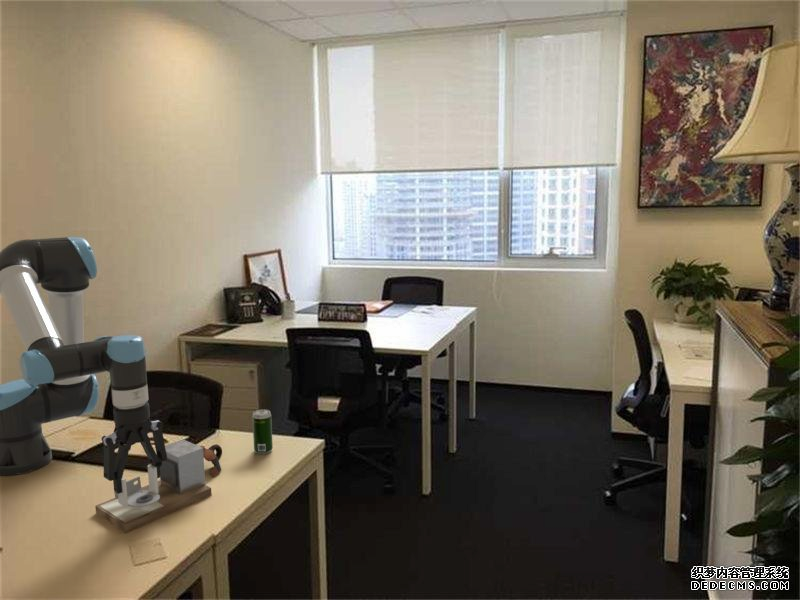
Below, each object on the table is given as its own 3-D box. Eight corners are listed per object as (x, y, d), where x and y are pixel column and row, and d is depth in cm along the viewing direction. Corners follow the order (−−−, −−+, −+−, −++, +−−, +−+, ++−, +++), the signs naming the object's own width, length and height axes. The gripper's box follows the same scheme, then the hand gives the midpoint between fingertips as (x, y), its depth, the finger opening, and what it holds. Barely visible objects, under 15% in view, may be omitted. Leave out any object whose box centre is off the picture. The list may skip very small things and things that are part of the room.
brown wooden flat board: (96, 513, 148) (95, 505, 147) (180, 479, 165) (179, 471, 165) (125, 533, 139) (125, 524, 139) (211, 495, 157) (211, 487, 156)
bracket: (140, 512, 138) (139, 498, 138) (114, 500, 144) (113, 486, 143) (166, 500, 144) (165, 486, 143) (140, 489, 149) (139, 476, 149)
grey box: (158, 485, 157) (155, 448, 156) (185, 474, 163) (182, 439, 162) (178, 496, 152) (175, 458, 150) (205, 484, 158) (203, 447, 156)
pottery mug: (209, 484, 163) (191, 460, 162) (188, 491, 168) (170, 467, 167) (236, 456, 173) (220, 432, 172) (215, 463, 178) (199, 441, 177)
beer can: (272, 453, 181) (271, 414, 179) (254, 455, 180) (252, 416, 178) (272, 446, 186) (271, 408, 184) (254, 448, 185) (252, 410, 183)
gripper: (95, 420, 130) (104, 520, 134) (179, 395, 145) (185, 487, 149) (78, 412, 135) (88, 510, 139) (162, 389, 150) (168, 478, 154)
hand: (139, 498), depth 144 cm, fingers closed on bracket, 7 cm apart
